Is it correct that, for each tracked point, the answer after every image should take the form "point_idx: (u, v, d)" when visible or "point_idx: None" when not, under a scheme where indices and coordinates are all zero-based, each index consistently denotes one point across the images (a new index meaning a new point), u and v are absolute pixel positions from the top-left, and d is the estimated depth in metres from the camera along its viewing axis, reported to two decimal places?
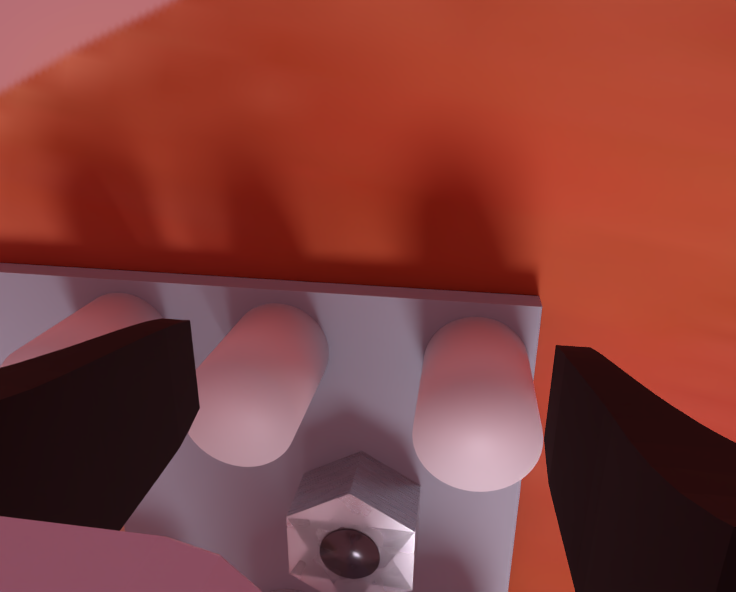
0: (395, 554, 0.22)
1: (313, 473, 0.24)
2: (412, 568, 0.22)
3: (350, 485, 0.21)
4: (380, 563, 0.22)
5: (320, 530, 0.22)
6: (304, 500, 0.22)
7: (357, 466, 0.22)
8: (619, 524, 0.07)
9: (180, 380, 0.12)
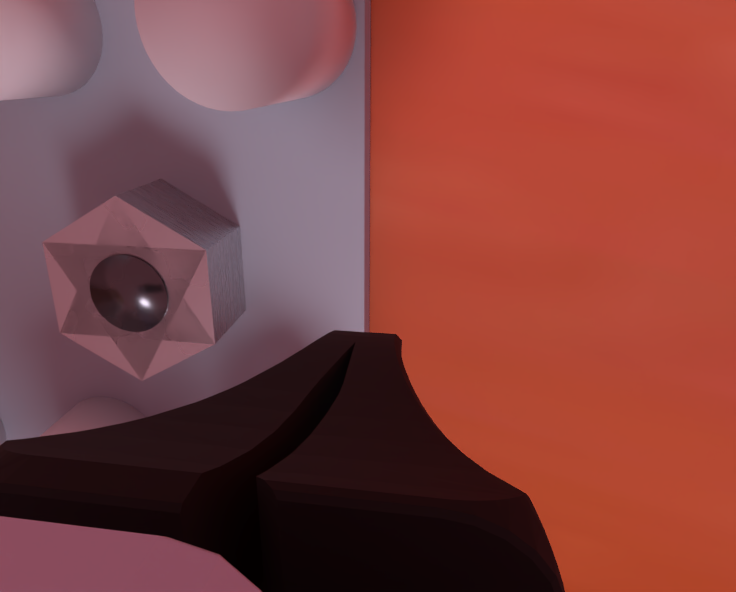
0: (186, 288, 0.16)
1: None
2: (210, 309, 0.16)
3: (123, 193, 0.16)
4: (169, 305, 0.16)
5: (87, 259, 0.16)
6: None
7: (145, 185, 0.17)
8: None
9: None
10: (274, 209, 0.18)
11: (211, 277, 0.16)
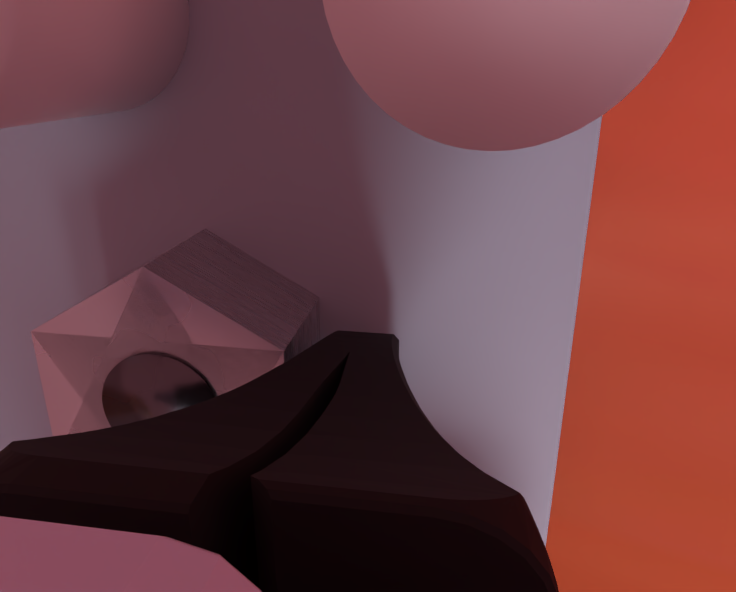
0: None
1: (119, 278, 0.13)
2: None
3: (154, 259, 0.10)
4: None
5: (98, 358, 0.11)
6: (75, 305, 0.11)
7: (184, 242, 0.11)
8: None
9: None
10: (438, 278, 0.12)
11: None
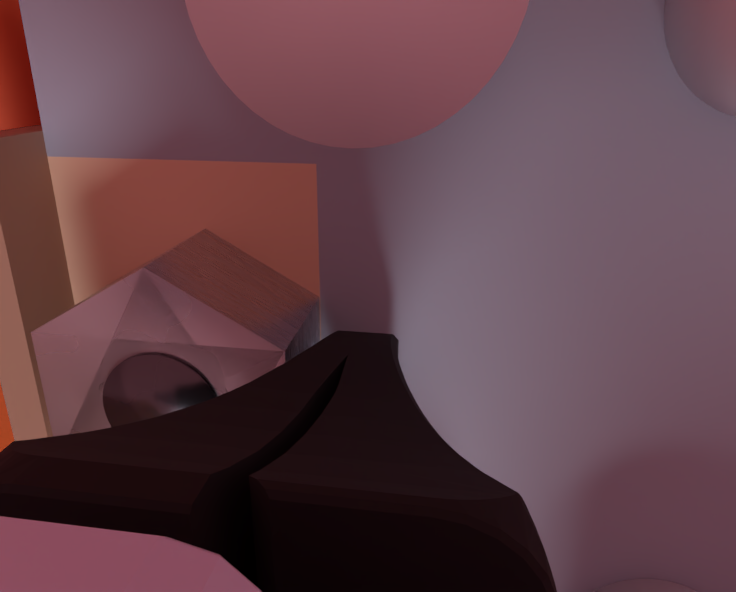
0: None
1: None
2: None
3: (154, 260, 0.10)
4: None
5: (99, 359, 0.11)
6: (75, 305, 0.11)
7: (184, 242, 0.11)
8: None
9: None
10: None
11: None
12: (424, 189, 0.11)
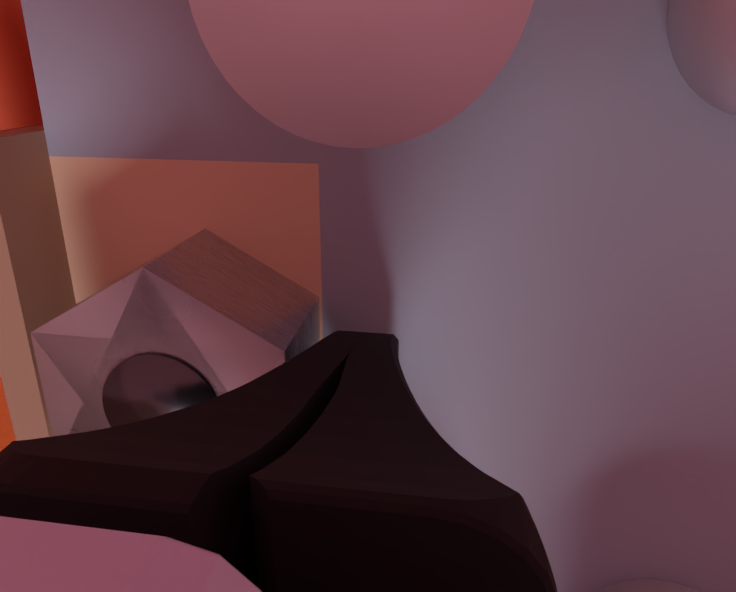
0: None
1: (118, 278, 0.12)
2: None
3: (153, 260, 0.10)
4: None
5: (99, 359, 0.11)
6: (74, 305, 0.11)
7: (184, 242, 0.11)
8: None
9: None
10: None
11: None
12: (426, 189, 0.11)
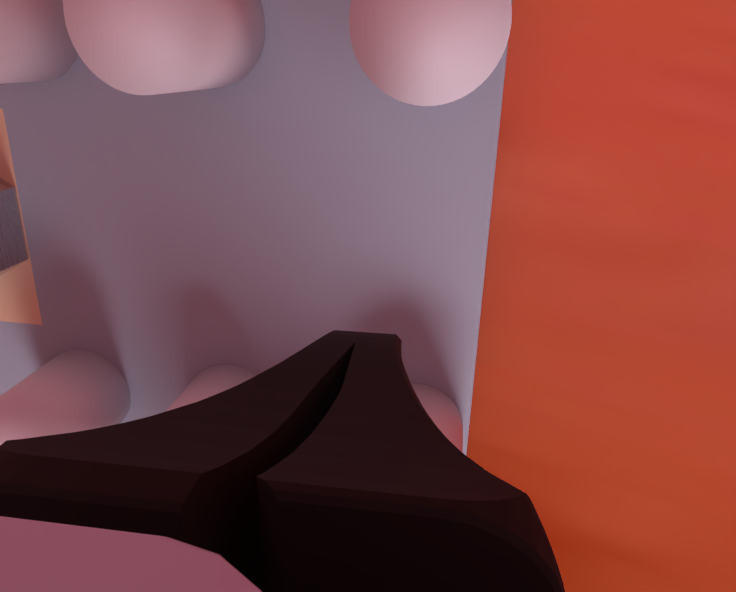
0: None
1: None
2: None
3: None
4: None
5: None
6: None
7: None
8: None
9: None
10: (408, 195, 0.20)
11: None
12: (59, 123, 0.20)
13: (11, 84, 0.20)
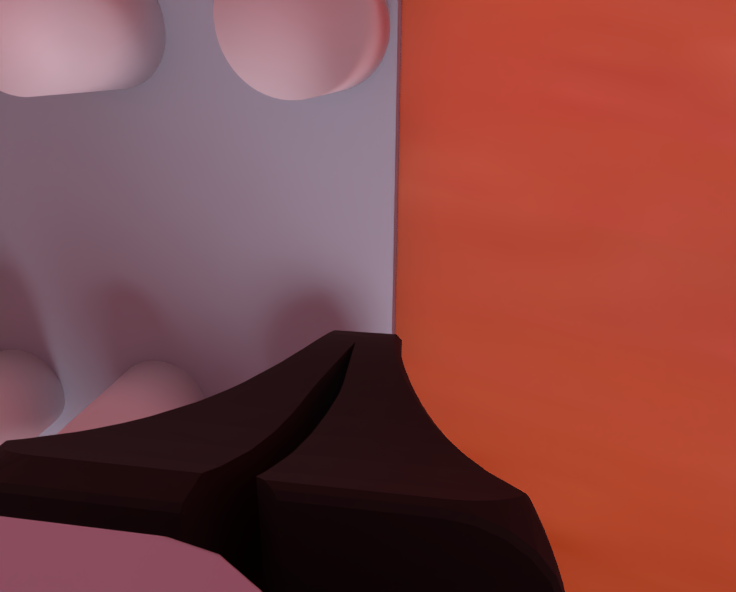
0: None
1: None
2: None
3: None
4: None
5: None
6: None
7: None
8: None
9: None
10: (314, 189, 0.20)
11: None
12: None
13: None
